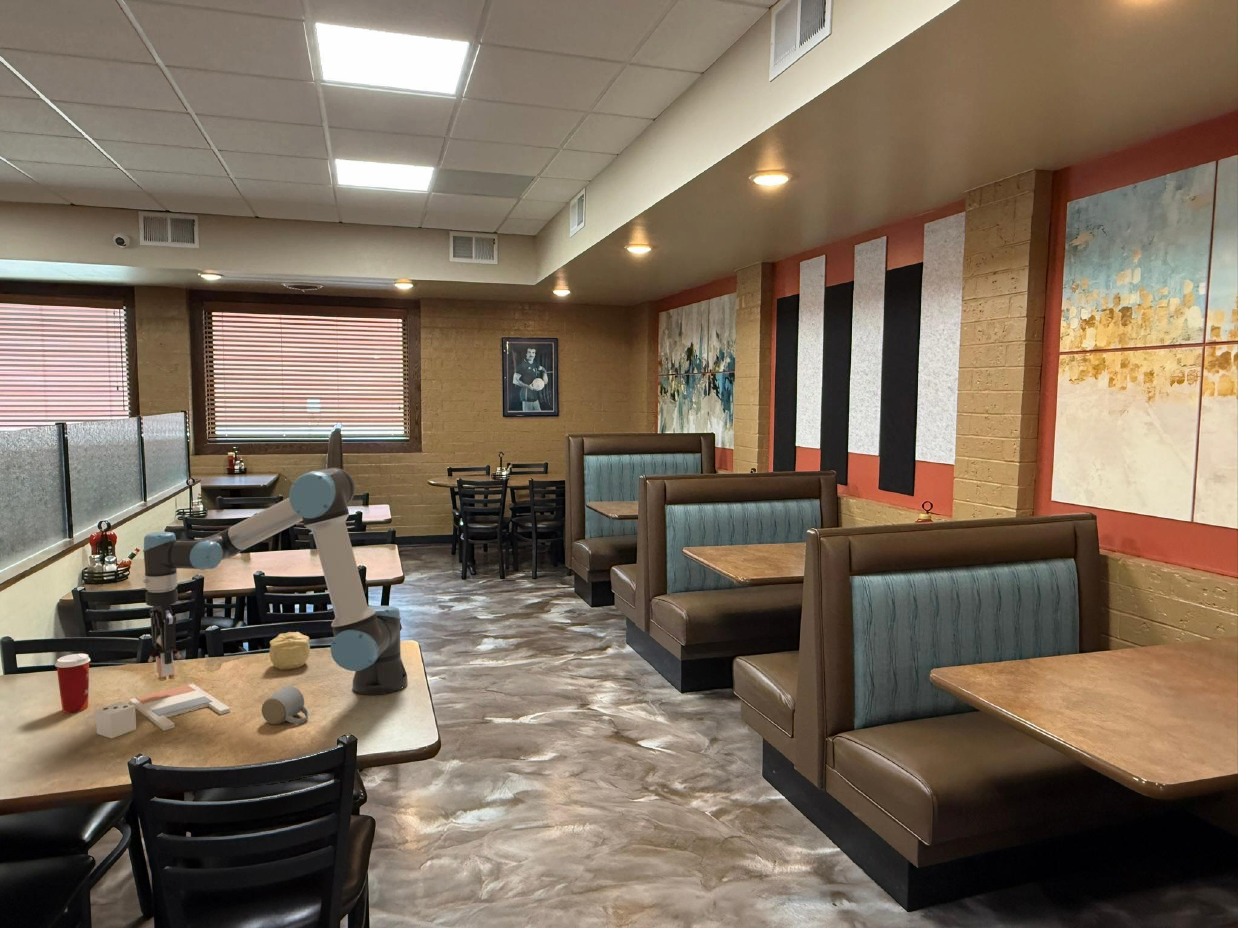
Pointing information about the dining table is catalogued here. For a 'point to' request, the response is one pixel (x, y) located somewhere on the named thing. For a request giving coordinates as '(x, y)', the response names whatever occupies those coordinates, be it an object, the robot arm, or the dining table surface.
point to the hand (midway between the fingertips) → (164, 672)
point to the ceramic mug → (284, 706)
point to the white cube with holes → (115, 719)
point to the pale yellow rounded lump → (289, 650)
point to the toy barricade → (175, 704)
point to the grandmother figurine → (155, 654)
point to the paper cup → (73, 682)
